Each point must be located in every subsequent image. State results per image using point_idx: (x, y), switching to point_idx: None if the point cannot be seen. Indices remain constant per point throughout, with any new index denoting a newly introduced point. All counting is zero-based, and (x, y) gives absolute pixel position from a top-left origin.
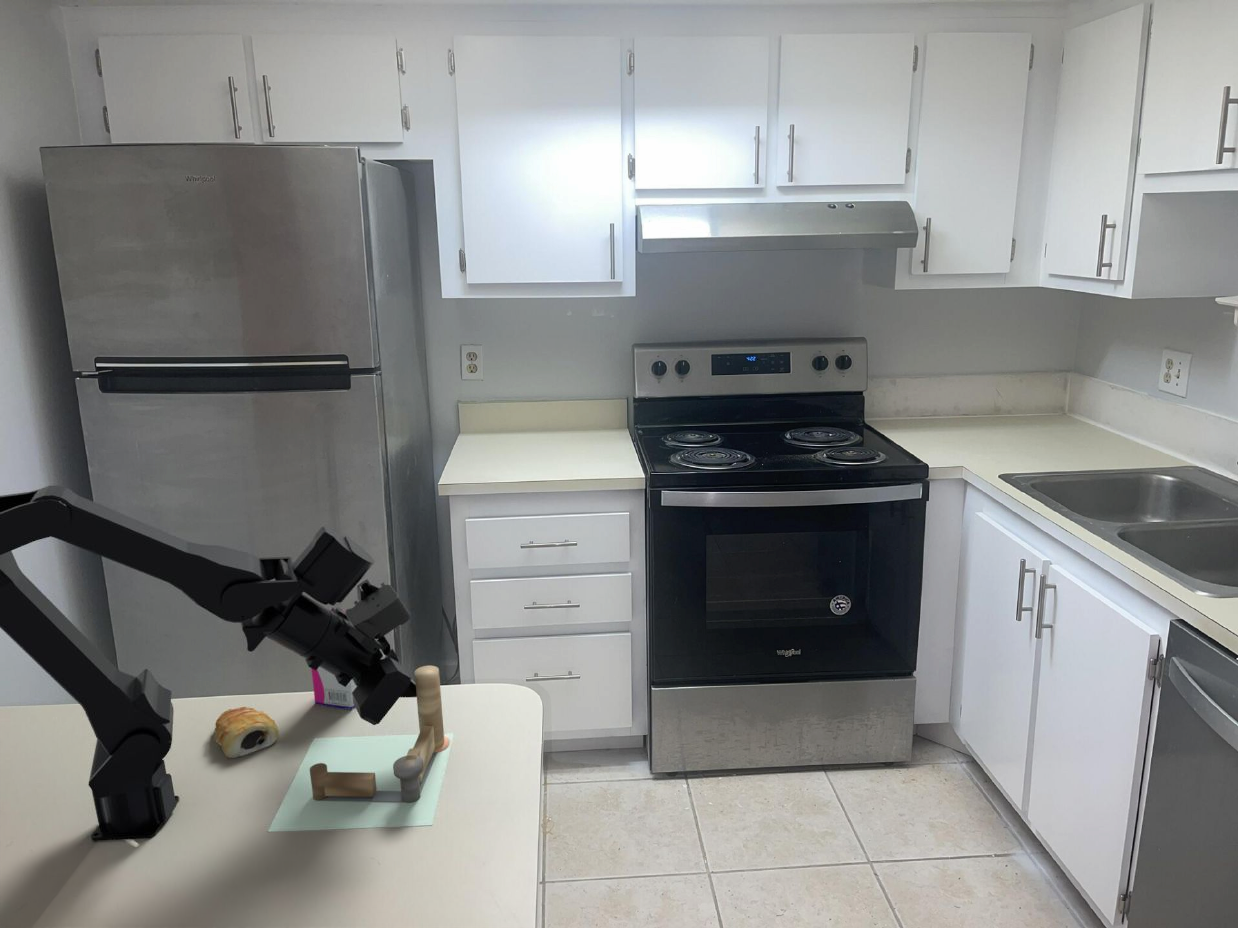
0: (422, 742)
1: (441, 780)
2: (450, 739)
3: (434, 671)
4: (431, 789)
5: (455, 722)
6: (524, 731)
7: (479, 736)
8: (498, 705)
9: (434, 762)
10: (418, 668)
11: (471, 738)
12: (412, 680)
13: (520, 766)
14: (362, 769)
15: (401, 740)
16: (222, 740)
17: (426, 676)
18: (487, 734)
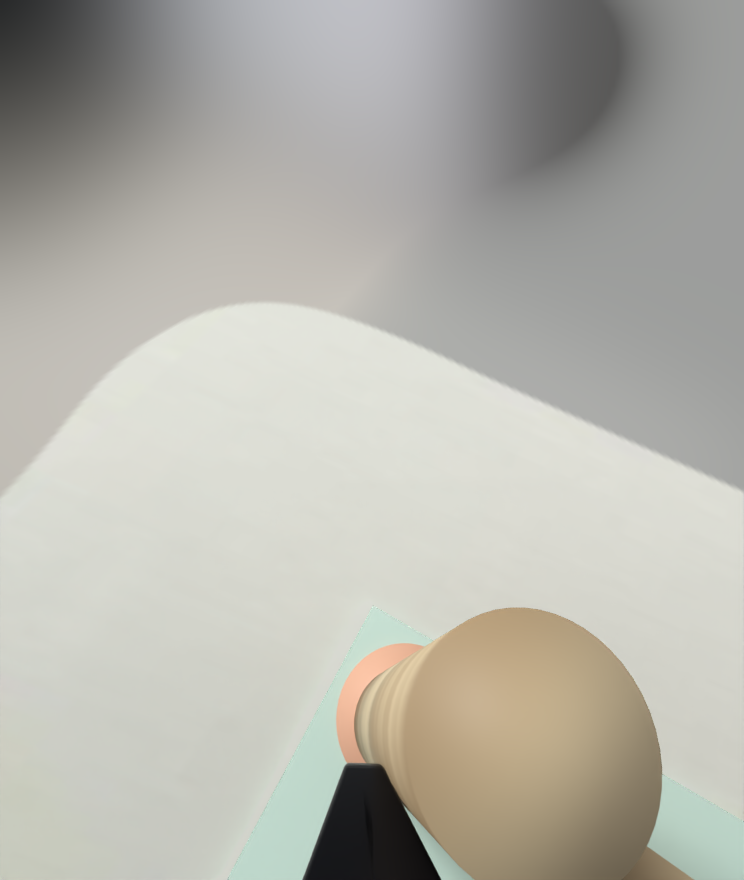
0: (635, 864)
1: (676, 790)
2: (407, 637)
3: (565, 665)
4: (730, 861)
5: (284, 566)
6: (474, 394)
7: (428, 527)
8: (275, 391)
9: None
10: (428, 809)
11: (426, 558)
12: (344, 847)
13: (660, 488)
14: None
15: (291, 860)
16: None
17: (639, 787)
18: (430, 498)
